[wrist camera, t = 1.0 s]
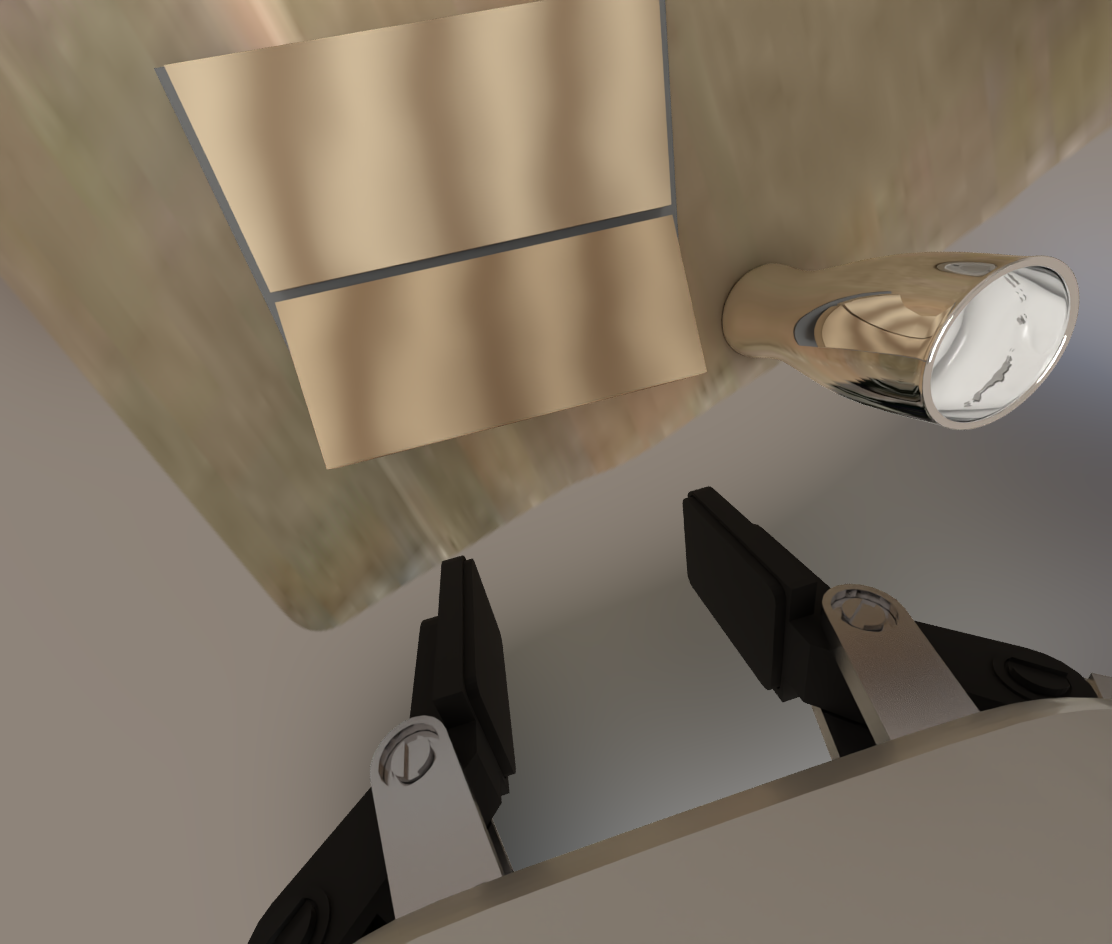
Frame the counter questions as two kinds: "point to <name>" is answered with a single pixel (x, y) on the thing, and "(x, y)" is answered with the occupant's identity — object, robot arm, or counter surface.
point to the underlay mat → (430, 262)
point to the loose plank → (492, 340)
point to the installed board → (434, 134)
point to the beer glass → (913, 329)
